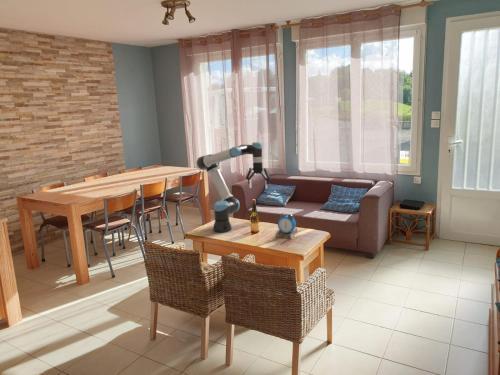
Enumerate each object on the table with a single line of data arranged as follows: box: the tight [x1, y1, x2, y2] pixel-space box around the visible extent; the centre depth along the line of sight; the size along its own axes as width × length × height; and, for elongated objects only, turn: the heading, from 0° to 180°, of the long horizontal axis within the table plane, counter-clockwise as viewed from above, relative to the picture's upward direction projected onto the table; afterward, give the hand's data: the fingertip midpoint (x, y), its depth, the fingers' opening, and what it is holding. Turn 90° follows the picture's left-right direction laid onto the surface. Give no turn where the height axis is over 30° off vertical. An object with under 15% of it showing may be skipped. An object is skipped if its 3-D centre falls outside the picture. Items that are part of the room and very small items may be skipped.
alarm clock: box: [277, 212, 297, 233], centre depth 313 cm, size 13×6×15 cm, turn 63°
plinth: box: [275, 227, 298, 240], centre depth 315 cm, size 12×18×4 cm
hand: (258, 188), depth 324 cm, fingers open, 13 cm apart
